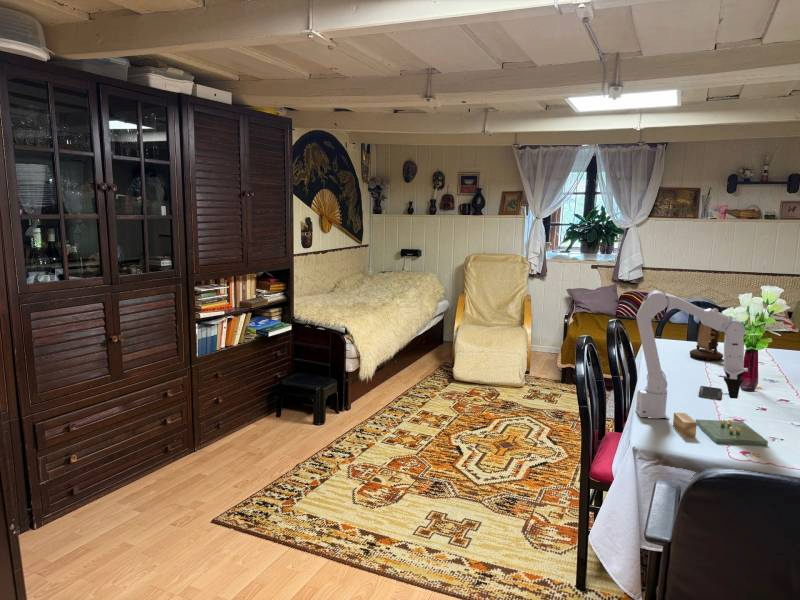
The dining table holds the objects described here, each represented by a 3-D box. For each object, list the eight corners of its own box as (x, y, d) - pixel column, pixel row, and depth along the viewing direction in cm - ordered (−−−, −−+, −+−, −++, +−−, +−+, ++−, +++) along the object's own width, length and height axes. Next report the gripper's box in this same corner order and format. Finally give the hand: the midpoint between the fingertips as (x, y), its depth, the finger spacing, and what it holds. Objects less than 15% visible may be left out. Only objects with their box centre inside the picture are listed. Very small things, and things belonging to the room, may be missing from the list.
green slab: (715, 442, 178) (716, 432, 177) (695, 423, 195) (696, 413, 194) (767, 445, 176) (768, 435, 175) (742, 426, 193) (743, 416, 192)
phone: (698, 395, 223) (700, 385, 236) (698, 398, 224) (700, 388, 236) (721, 398, 220) (722, 388, 232) (721, 401, 220) (722, 391, 232)
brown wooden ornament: (682, 356, 290) (686, 317, 287) (702, 353, 296) (706, 315, 293) (709, 363, 276) (712, 322, 273) (729, 360, 282) (733, 320, 280)
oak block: (682, 437, 183) (683, 422, 182) (672, 426, 192) (674, 412, 191) (695, 437, 183) (696, 422, 182) (685, 427, 191) (686, 413, 191)
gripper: (747, 360, 182) (747, 402, 184) (747, 351, 195) (747, 390, 196) (722, 359, 186) (722, 400, 188) (723, 350, 198) (724, 388, 200)
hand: (733, 394), depth 192 cm, fingers open, 7 cm apart
